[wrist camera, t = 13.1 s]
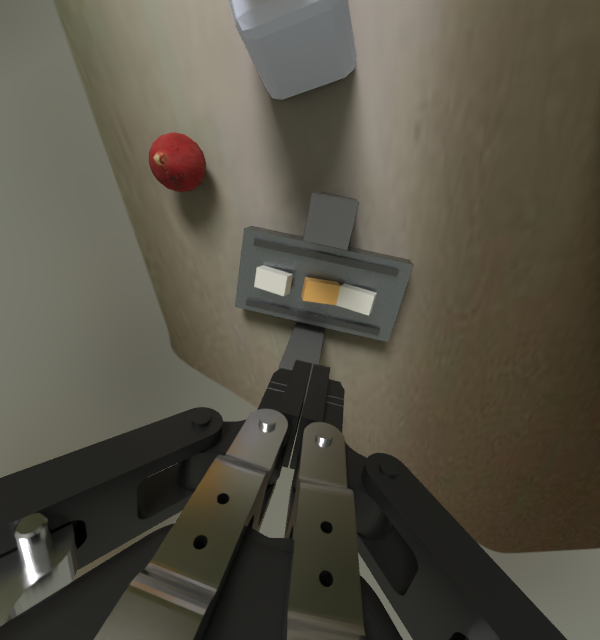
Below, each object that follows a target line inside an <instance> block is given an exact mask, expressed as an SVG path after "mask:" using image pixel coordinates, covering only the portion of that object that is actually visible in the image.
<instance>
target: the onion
mask: <svg viewBox="0 0 600 640" xmlns="http://www.w3.org/2000/svg"><path fill="white" fill-rule="evenodd" d="M149 164H150V168H151V171H152V173H153V174H154V176H155V177H156V179H157V180H158V181H159V182H160V183H161V184H163V185H164V186H165V187H166V188H168V189H171V190H175V191H178V192H186V191H191V190H194V189H195V188H196V187H197V186H199V185H200V184H201V183H202V181H203V178H204V175H205V169H206V162H205V158H204V154H203V152H202V150H201V149H200V147H199V146H198V144H197V143H196V142H194V141H193V140H192V139H190V138H189V137H188V136H186V135H184V134H179V133H169V134H165V135H162V136H160V137H159V138H158V139H157V140H156V141H154V142H153V144H152V147H151V149H150V151H149Z"/></svg>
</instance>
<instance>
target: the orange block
mask: <svg viewBox="0 0 600 640" xmlns="http://www.w3.org/2000/svg"><path fill="white" fill-rule="evenodd" d="M340 287H341V286H340V284H339V283H338V282H336V281H329V280H322V279H316V278H309V277H305V280H304V285H303V290H302V295H301V297H302V300H303V301H308V302H316V303H323V304H330V305H336V303H337V299H338V295H339V291H340Z"/></svg>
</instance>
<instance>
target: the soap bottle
mask: <svg viewBox="0 0 600 640" xmlns="http://www.w3.org/2000/svg"><path fill="white" fill-rule="evenodd" d="M229 2H230V6H231V10H232V14H233V17H234V21H235V25H236V28H237V30H238V32H239V34H240V36H241V38H242V40H243V42H244V44H245V46H246V48H247V50H248V53H249V55H250V57H251V59H252V61H253V63H254V65H255V67H256V69H257V71H258V73H259V75H260V77H261V80H262V82H263V84H264V86H265V88H266V90H267V91H268V93H269V94H270V96H271V97H272V98H273V99H281V100H283V99H286V98H289V97H292V96H295V95H297V94H300V93H303V92H306V91H309V90H312V89H314V88H317V87H320V86H323V85H326V84H329V83H332V82H334V81H337V80H340V79H343V78H345V77H346V76H347V75H349V74H350V73H351V72H352V71H353V70H354V67H355V61H356V50H355V44H354V37H353V31H352V25H351V18H350V12H349V5H348V0H229Z"/></svg>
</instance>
